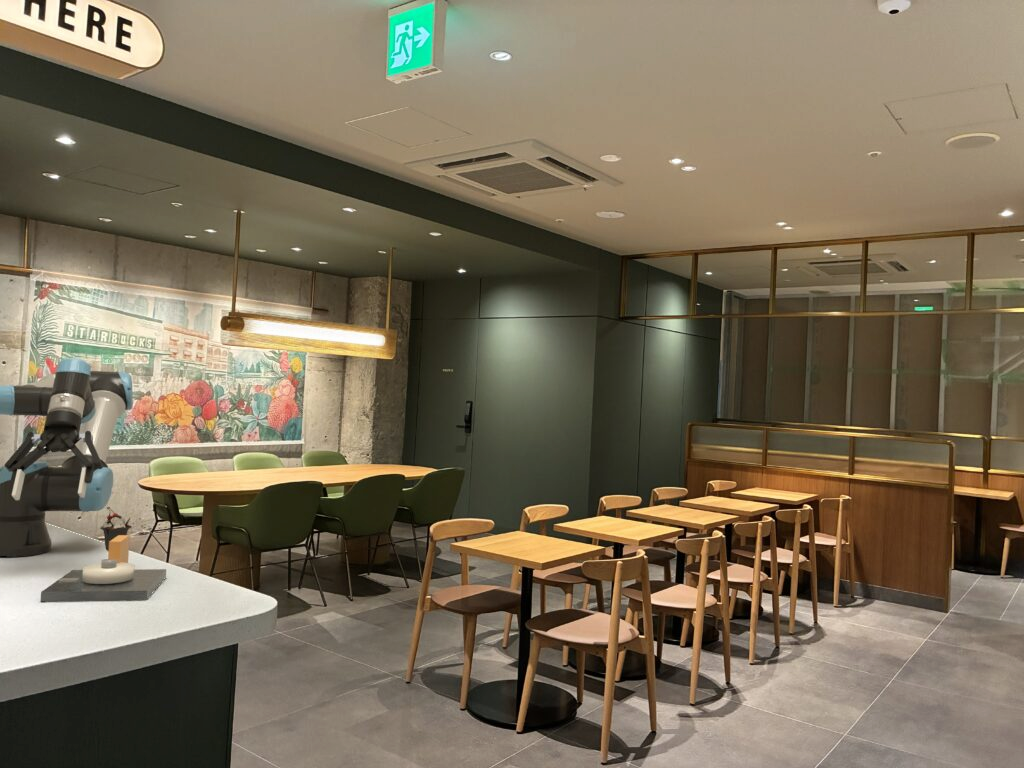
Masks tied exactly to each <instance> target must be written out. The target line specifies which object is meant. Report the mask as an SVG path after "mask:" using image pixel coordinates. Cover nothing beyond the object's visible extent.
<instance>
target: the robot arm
mask: <svg viewBox="0 0 1024 768" xmlns="http://www.w3.org/2000/svg"><path fill="white" fill-rule="evenodd" d="M132 378H133V377H132V375H131V374H129V373H128V372H120V371H102V370H101V371H99V370H92V368H91V365H90V363H88V362H87V361H86V360H84V359H81V358H75V357H73V358H72V357H68V358H63V359H61V360H60V361H58V364H57V367H56V369H55V372H54V373H52V374H47V375H44V376H43V377H42V378H40V379H39V380H38V381H34V382H31V383H27V384H23V385H13V384H10V385H0V415H5V416H29V417H30V416H33V417H35V416H38V417H39V416H40V417H45V422H44V427H43V431H42V433H41V434H40V433H34V432H33V431H29V432H27V434H26V437H25V439H24V441H23V442H22V443H21V444H20V445H19V447H18V448H17V449H16V450H15V452H14V453H13V454H12V455H11V456H10V457H9V458H8V460H7V461H6V462H5V463H4V465H3V466H0V556H7V557H6V558H17V557H18V556H19V557H27V556H28V557H29V556H35V555H42V554H44V553H48V552H50V551H51V550H52V541H51V540H52V539H51V537H50V534H49V530H48V527H47V524H46V512H82V513H86V512H87V513H89V512H99V511H101V510H103V509H104V508H106V506H107V505H108V502H109V501H110V498H111V496H112V492H113V491H112V489H113V486H114V472H113V470H112V469H111V468H109V464H108V463H107V458H108V454H109V451H110V448H111V442H112V438H113V435H114V432H115V428H116V424H117V421H118V419H119V418H121V417H122V416H123V415H124V413H126V412H125V411H130V410H132V409H133V407H134V406H133V405H134V401H133V400H134V399H133V398H134V397H133V395H134V394H133V381H132V380H133V379H132ZM39 441H41V442H39ZM38 442H39V443H38ZM35 444H37V445H36V447H35V448H34V446H35ZM33 448H34V449H33ZM69 450H70V451H71V452H72V454H71V455H70V456H69V457H67V458H65V460H63V462H62V464H61V466H58V467H57V466H53V467H52V466H50V464H49V462H48V461H45V460H43V461H38V460H39V459H40V458H42V457H43V456H44V455H48V453H49V452H51V453H57V452H60V453H67V451H69ZM10 556H11V557H10Z"/></svg>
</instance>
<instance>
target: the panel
mask: <svg viewBox="0 0 1024 768" xmlns="http://www.w3.org/2000/svg"><path fill="white" fill-rule="evenodd" d="M82 575H83V569H71V570H70V571H69V572H68V573H66V574H65V575H64V576H62V577H61V578H59V579H58V580H56V581H55V582H53V583H52V584H50V585H48V586H47V587H46V588H45V589H43V590H42V591H40V601H48V603H50V602H51V603H53V602H54V603H59V602H60V601H62V602H63V601H64V602H104V601H105V602H107V601H108V602H109V601H110V602H111V601H114V602H115V601H118V602H120V601H121V602H122V601H123V602H124V600H125V601H147V600H148V599H149V598H150V597H151V596H150V595H153V593H154V592H155V591H156V590H157V589H158V588H157V587H160V585H161V584H162V583H163V582H164V581H165V579H166V578H167V569H165V568H164V569H163V568H162V569H160V568H159V569H157V568H155V569H154V568H153V569H150V568H149V569H146V568H145V569H142V568H141V569H137V568H136V569H134V577H133V579H131V580H128V581H125V582H119V583H111V584H91V583H85V582H83V581H82ZM165 577H166V578H165ZM164 578H165V579H164ZM163 580H164V581H163ZM162 581H163V582H162ZM161 582H162V583H161ZM160 583H161V584H160ZM159 584H160V585H159ZM156 588H157V589H156ZM155 589H156V590H155ZM154 590H155V591H154ZM153 591H154V592H153ZM152 592H153V593H152ZM149 596H150V597H149ZM148 597H149V598H148ZM58 601H59V602H58ZM60 603H61V602H60Z"/></svg>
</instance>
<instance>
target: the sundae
mask: <svg viewBox="0 0 1024 768" xmlns="http://www.w3.org/2000/svg"><path fill="white" fill-rule="evenodd" d="M106 509H107V510H108V511H109V512H112V513H113V514H112V515H111V513H109V514H108V515H107V516H106V520H105V521H104V522H103V525H102V526H101V527H100V530H102V531H103V535H104V546H105V550H106V551H107V552H109V541H111V540H112V539H114V538H115V537H117V536H118V535H128V531H129V529H132V525H129V522H130V520H131V517H129V518H128V519H127V521H126V520H125V518H124V517H123V516H122V515H119V514H118V513H116V512H114V511H113V509H111V507H110V506H107V507H106Z"/></svg>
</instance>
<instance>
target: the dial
mask: <svg viewBox="0 0 1024 768" xmlns="http://www.w3.org/2000/svg"><path fill="white" fill-rule="evenodd" d="M130 538H131V535H130V534H129V535H128V534H127V535H118V536H117V537H115V538H114V539H112V540H111V541H109V552H108V551H107V552H108V554H107V555H108V557H107V558H105V559H101V562H98V563H92V564H88V565H85V566H84V567H83V568H82V570H83V575H82V581H83V582H85V583H91V584H111V583H119V582H125V581H128V580H131V579H133V577H134V570H135V565H134V564H133V563H130V562H129V554H130V553H129V552H130V551H129V550H130Z"/></svg>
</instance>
